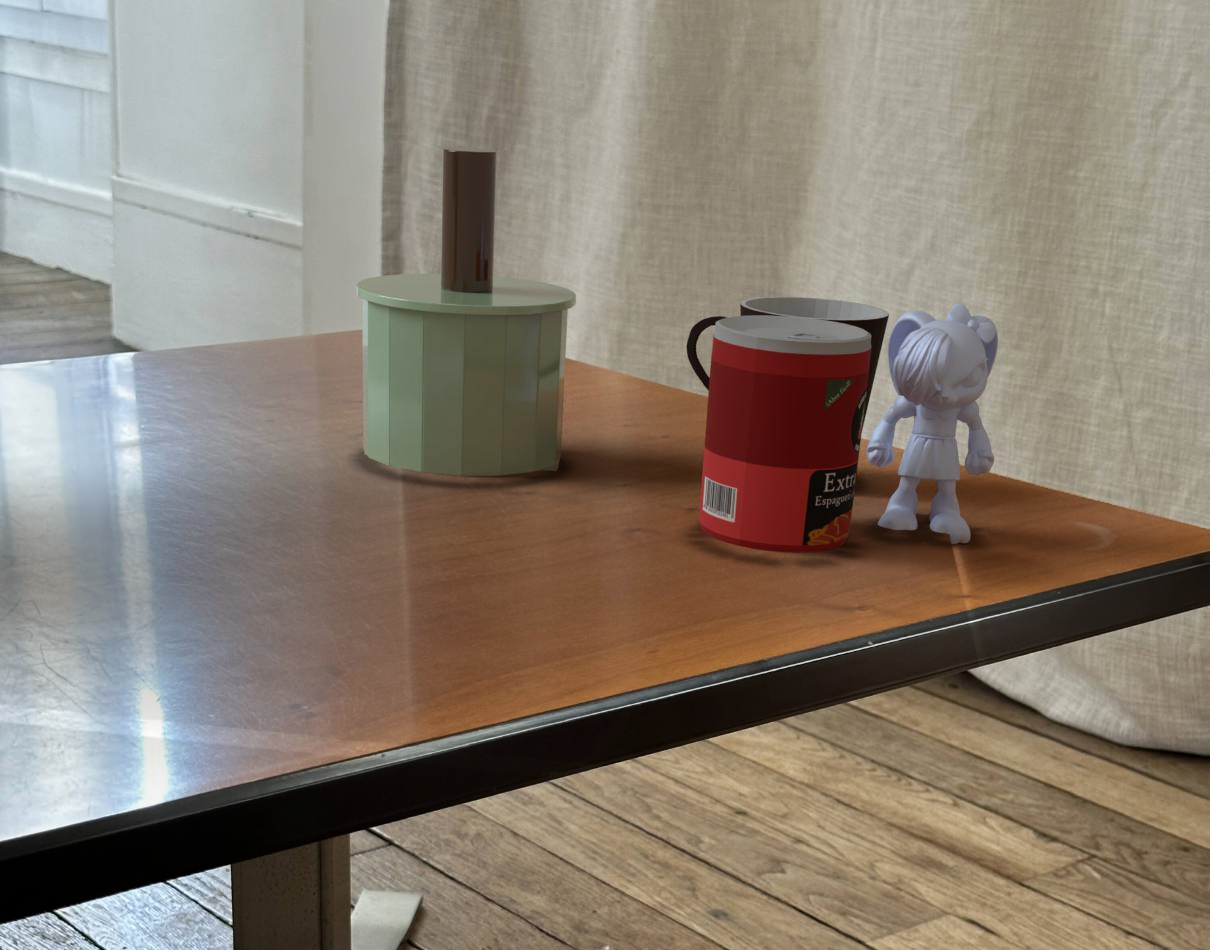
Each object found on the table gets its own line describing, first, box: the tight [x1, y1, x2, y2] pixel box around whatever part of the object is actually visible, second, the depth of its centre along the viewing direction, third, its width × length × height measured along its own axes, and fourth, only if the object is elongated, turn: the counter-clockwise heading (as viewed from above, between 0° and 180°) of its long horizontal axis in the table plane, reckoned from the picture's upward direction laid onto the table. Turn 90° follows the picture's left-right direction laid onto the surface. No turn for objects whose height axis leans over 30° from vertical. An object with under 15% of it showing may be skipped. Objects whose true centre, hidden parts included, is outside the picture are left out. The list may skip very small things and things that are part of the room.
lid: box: [355, 147, 577, 315], centre depth 97 cm, size 13×13×9 cm
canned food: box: [698, 315, 871, 553], centre depth 88 cm, size 8×8×11 cm
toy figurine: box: [865, 303, 999, 545], centre depth 91 cm, size 7×6×12 cm
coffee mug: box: [686, 296, 890, 431], centre depth 102 cm, size 12×9×10 cm
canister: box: [362, 299, 569, 477], centre depth 101 cm, size 12×12×10 cm
